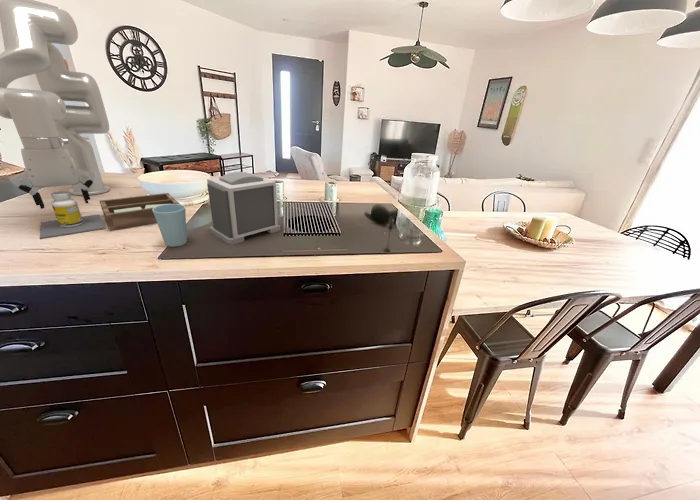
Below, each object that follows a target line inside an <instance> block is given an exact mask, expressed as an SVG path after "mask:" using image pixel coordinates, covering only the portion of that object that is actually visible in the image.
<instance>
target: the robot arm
mask: <svg viewBox="0 0 700 500" xmlns="http://www.w3.org/2000/svg"><path fill="white" fill-rule="evenodd" d="M0 29H1V33H2V39H3V40H2V41H3V46H4V51H2V52H1V53H0V117H2V118H4V119H8V120H12V122H13V123H14V124H13V125H14V126H15V129H16V132H17V134H18V136H19V139H20V142H21V144H22V146H23V148H21V149H20V151H21V157H22V161H23V164H24V168H25V171H24V172H22V173H19V174H17V175H15V176H14V177H11V178H10V179H9V182H10V183H11V184H13V185H14V186H15V187H17V188H18V189H19V190H21V191H22V192H25V193H27V194H29V195H30V196H32V199H33V201H34V203H35V206H39V208H40V209H41V210H42V209H45V203H44V201H43V198H42V196H41V193H40V192H39V190H40V189H41V188H53V187H54V188H56V187H65V186H68V187H69V186H72V187H71V188H69V189H68V192H70V195H74V196H82V197H83V200H84V203H85V204H89V201H90V200H91V197H90V195H91V196H93V195H100V194H104V193H107V192H109V191H110V189H111V188H110V186H108V185H107V184H106V185H105V184H104V182H103V178H102V175H101V171H100V168H99V164H98V161H97V158H96V155H95V152H94V148H93V146H92V144H91V143H90V142H89V141H88V140H87V139H86V138H84V136H82V135H81V134H88V135H89V134H96V135H97V134H98V135H101V134H107V133H109V131H110V123H109V119H108V116H107V115H108V114H107V111H106V108H105V104H104V101H103V97H102V93H101V91H100V88H99V85H98V83H97V81H96V79H95V78H94V77H93V76H92V75H90V74H89V73H85V72H81V71H80V72H79V71H69V70H68V68H67V66H66V63H65V60H64V56H63V54H62V52H61V51H60V50H59V49H58V48H57V47H56V46H55V45H54V44H59V45H66V46H73V45H74V44H75V43H76V42H78V41H77V40H78V37H79V32H78V27H77V24H76V22H75V20H74V18H73V17H72V16H71V14H70V13H69V12H68V11H67V10H65V9H59V8H57V7H55V8H54V7H50V6H44V5H38V4H34V3H31V2H30V3H28V2H23V1H17V0H0ZM32 75H35V77H36V80H37V82H38V85H39V88H40V89H39V90H36V89H28V88H27V89H26V88H15V87H14V88H13V87H9V85H10V84H11V83H12V82H14V81H15V80H18V79H20V78H21V79H22V78H24V77H27V76H32ZM64 101H66V102H77V103H78V102H81V103H86V104H87V106H86V105H75V104H65V102H64ZM27 178H28V179H29V181H30V183H31V185H32V186H31V187H30V186H29V185H26V184H24V183H22V182H21V181H23V180H25V179H27Z"/></svg>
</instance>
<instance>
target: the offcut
mask: <svg viewBox="0 0 700 500" xmlns="http://www.w3.org/2000/svg"><path fill="white" fill-rule="evenodd" d="M139 209H142V208H141V207H134V208H126V209H119V210H114V213H117V212H124V211H132V210H139Z"/></svg>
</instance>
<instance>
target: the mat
mask: <svg viewBox="0 0 700 500" xmlns="http://www.w3.org/2000/svg"><path fill="white" fill-rule="evenodd" d="M81 217H82V220H83V224H81V225H79V226H75V227H61V226H60V225H59V223H58V220H57V219H53V220H45V221H40V225H39V227H40V228H39V239H40V240H45V239H50V238H55V237H56V238H57V237H63V236H69V235H75V234H81V233H88V232H93V231H99V230H105V229H106V227H105V225H104V222H103V219H102V216H101V214H98V213H97V214H90V215H83V216H82V215H81Z"/></svg>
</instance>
